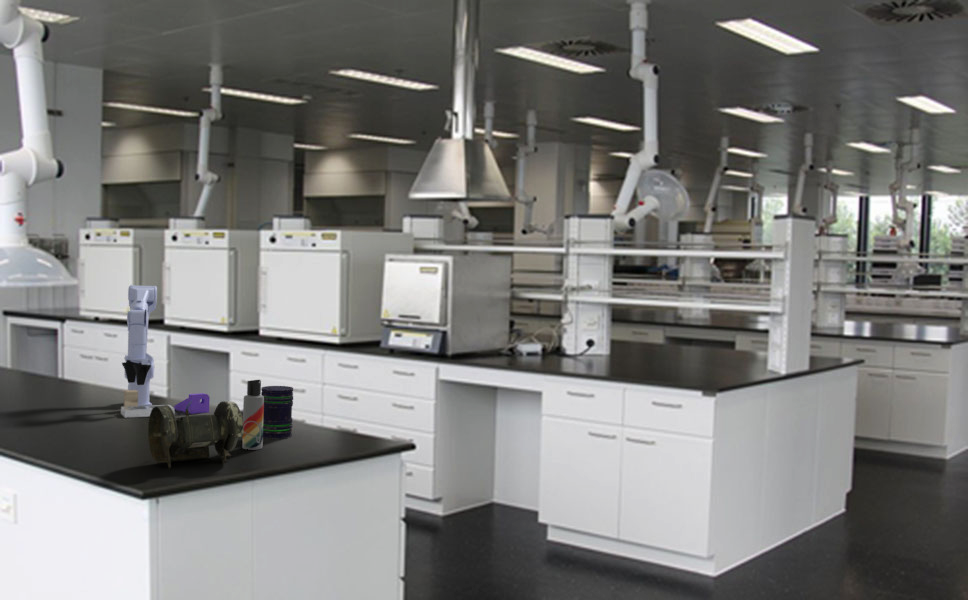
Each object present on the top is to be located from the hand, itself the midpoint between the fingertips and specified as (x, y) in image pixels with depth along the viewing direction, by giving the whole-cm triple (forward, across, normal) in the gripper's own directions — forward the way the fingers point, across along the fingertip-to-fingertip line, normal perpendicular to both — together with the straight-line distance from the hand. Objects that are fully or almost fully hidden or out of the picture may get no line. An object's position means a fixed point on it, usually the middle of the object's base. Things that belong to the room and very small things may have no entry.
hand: (135, 383), depth 326 cm
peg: (+10, -2, -1) cm, 10 cm away
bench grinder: (+11, +84, -21) cm, 87 cm away
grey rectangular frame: (+10, +8, +1) cm, 13 cm away
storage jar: (+11, +63, +17) cm, 66 cm away
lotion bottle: (+11, +76, +2) cm, 77 cm away
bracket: (+10, +7, +17) cm, 21 cm away
